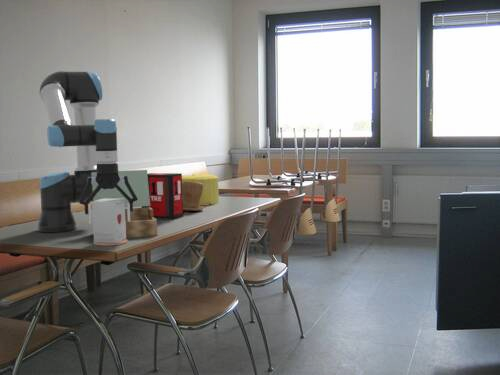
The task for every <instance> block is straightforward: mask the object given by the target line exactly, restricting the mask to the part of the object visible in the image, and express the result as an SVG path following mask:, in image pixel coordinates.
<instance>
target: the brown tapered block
mask: <svg viewBox="0 0 500 375" xmlns="http://www.w3.org/2000/svg"><path fill="white" fill-rule="evenodd" d="M202 191H203V184H202V183H198V182H189V181H184V182H183V183H182V195H183V212H198V211H202V210H204V206H200V204H199V201H200V198H201V195H202Z"/></svg>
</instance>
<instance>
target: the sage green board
mask: <svg viewBox="0 0 500 375" xmlns="http://www.w3.org/2000/svg"><path fill="white" fill-rule="evenodd" d="M147 174H148V170H147V169H140V170H139V169H136V170H135V169H134V170H118V175H119V177H121V176H124V175H126V176H127V177H128V182H129V184H130V186H131V188H132V190H133V191H134V193H135V195H136V197H137V198H138V200H137V201H134V202H133V208H141V206H150V197H149V187H148V176H147ZM91 175H92V178H96V176H97V172H91ZM98 185H99V184H98V183H97V182H96V181H94V182H93V184H92V189H93V191H94V190H95V189H96V187H97V186H98ZM117 185H118V186H119V187H120V188H121V189H122V190H123V191H124V192H125V193H126V194H127V195H128V196H129V197H130V198H133V197H132V195H131V194H130V192H129V190H128V188H127V187H126V185H125V183H124V182H122V180H120V181H119V182H118V184H117ZM100 199H125V208H127V202H129V201H128V200H127V199H126V198H125V197H124V196H123V195H122V194H121V193H120V192H119V191H118V190H117V189H116V187H115V188H113V189H102V188H101V189H100V191H99V192H98V193H97V194H96V195H95V197H94V198H93V201H96V200H100Z"/></svg>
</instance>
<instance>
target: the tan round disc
mask: <svg viewBox="0 0 500 375" xmlns="http://www.w3.org/2000/svg"><path fill="white" fill-rule="evenodd" d="M128 242H129V241H128V239H127V238H126V239H125V240H122V241H120V242H118V243H94V241H93V245H95V246H98V247H112V246H121V245H125V244H127V243H128Z"/></svg>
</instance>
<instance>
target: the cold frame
mask: <svg viewBox="0 0 500 375" xmlns="http://www.w3.org/2000/svg"><path fill="white" fill-rule="evenodd" d="M125 219H126V239H127V238H129V239H130V238H131V237H132V238H143V236H145V237H156V236H155V235H157V236H158V219H155V218H154V217H153V209H152V208H151V207H148V208H141V207H133V211H132V212H130V221H128V220H127V208H125Z"/></svg>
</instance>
